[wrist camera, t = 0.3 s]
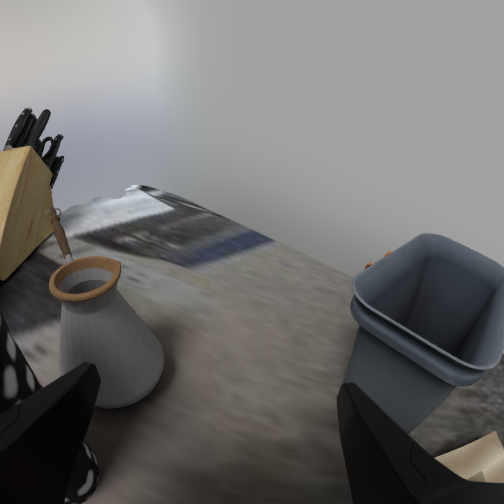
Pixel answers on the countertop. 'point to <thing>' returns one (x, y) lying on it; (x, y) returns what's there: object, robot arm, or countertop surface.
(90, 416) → the robot arm
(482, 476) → the block
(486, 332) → the storage bin
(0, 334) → the white-spotted black cylinder
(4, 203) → the knife block
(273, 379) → the countertop surface
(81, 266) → the coffee pot
